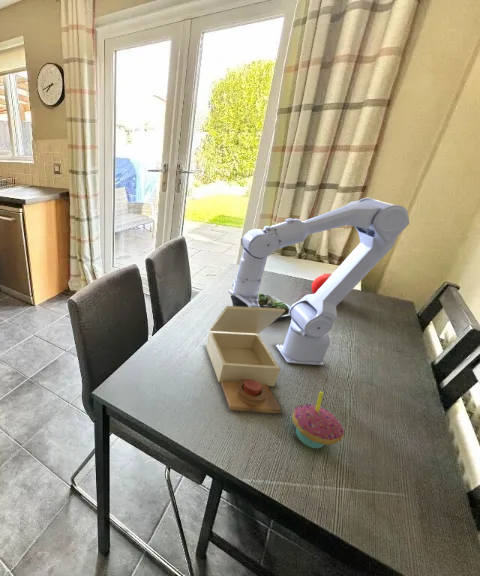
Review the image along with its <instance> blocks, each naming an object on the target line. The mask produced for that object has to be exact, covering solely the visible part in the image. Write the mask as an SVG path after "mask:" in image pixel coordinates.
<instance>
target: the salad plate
mask: <svg viewBox="0 0 480 576" xmlns="http://www.w3.org/2000/svg"><path fill="white" fill-rule="evenodd" d="M258 304H259V308H279V309H285V312H284V313H283V314H282V315H281V316H279V317H278V318H277V319H276V320H275V321H274V322H276V321H284V320H288V319H290V318H292V317H291V316H290V315H289V310H290V307H291V306H292V305H291V306H290V305H288V304H287V303H285V302H284V301H282V300H280V299H279V298H278V297H276V296H273V295H271V294H268V293H267V294H266V293H258Z"/></svg>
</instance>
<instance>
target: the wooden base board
mask: <svg viewBox="0 0 480 576" xmlns="http://www.w3.org/2000/svg"><path fill="white" fill-rule="evenodd" d="M246 380H248V379H242V380H240V381H238V382H226V381H222V382H220V386H221V389H222V392H223V395H224V397H225V400H226V403H227V405H228V408H229V410H230V411H241V412H255V413H268V414H281V412H282V408H281V407H280V405H279V403H278V402H277V399H276V398H275V395H274V394H273V392H272V390H271V389H270V386H268V385H267V384H260V385H261V391H260V394H259V395H257V396H252V395H249V394H247V393H246V392H245V391H244V390H243V386H244V382H245V381H246Z"/></svg>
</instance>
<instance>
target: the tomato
mask: <svg viewBox="0 0 480 576" xmlns="http://www.w3.org/2000/svg"><path fill="white" fill-rule="evenodd" d="M332 274H333V273H323V274H321V275H319V276H317V277H316V278H315V279H314V280H313V281H312V283H311V293H312V294H315V293H316V292H317V291H318V290H319V288H320V287H321V286H322V285H323V284H324V283H325V282H326V281H327V280H328V278H329V277H330V276H331V275H332Z"/></svg>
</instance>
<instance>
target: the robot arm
mask: <svg viewBox="0 0 480 576" xmlns="http://www.w3.org/2000/svg"><path fill="white" fill-rule="evenodd" d="M409 217H410V216H409V212H408V209H407V208H406V207H404V205H403V206H402V205H400V204H392V203H389V202H384V201H381V200H378V199H375V198H372V197H364V198H361V199H359V200H353V201H350V202H348V203H347V204H346V205H344V206H340V207H338V208H335V209H333V210H330V211H327V212H325V213H322V214H320V215H316V216H314V217H311V218H308V219H305V220H301V219H300V218H292V217H288V218H286V219H285V220H284V222H281V223H277V224H274V225H271V226H269V225H265V226H264V227H263V229H259V228H252V229H250V230H248V231H247V232H246V233H245V234H244V235H243V237H242V238H240V243H241V246H242V248H243V249H242V253H241V257H240V260H239V265H238V270H237V274H236V279H233V281H232V286H231V287H232V288H233V289H228V293H229V295H230V300H231V302H232V306H237V307H258V308H259V304H258V294H259V290H260V287H261V282H262V278H263V276H264V271H265V267H266V264H267V260H268V257H270V256H271V255H272V254H273V253H274V252H275V251H276V250H280V249H282V248H286V247H289V246H292V245H296V244H299V243H302V242H304V241H305V240H306V239H307V237H308V236H310V235H313V234H317V233H321V232H325V231H329V230H333V229H336V228H340V227H345V226H351V227H354V228H355V230H356V231H357V234H358V237H359V244H358V245H357V246H356V247H355V248H354V249H353V250H352V252H351V253H350V254H349V255H348V256H347V257H346V258H345V259H344V261H342V263H341V264H340V265H339V266H338V268H336V270H334V271H333V273H331V274H332V275H331V276H330V277H329V278H328V280H327V281H326V282H325V283H324V284H323V285H322V286H321V287H320V288H319V290H318V291H317V292H316V293H315V294H313V293H312V294H305V295H304V296H302V298H301V299H300V300H298V301H296V302H295V303H292V305H291V307H290V310H289V315H290V316H291V317H290V318H291V320H290V323H289V327H288V330H287V332H286V336H285V339H284V341H283V344H275V347H276V348H277V350H278V351H279V353H280V354H281V356H282V357H283V358H284V360H285V361H286V363H288V364H296V365H297V364H298V365H316V366H324V362H323V360H324V358H325V356H326V354H327V352H328V349H329V347H330V335H329V332H330V331H331V329H332V326H333V324H334V322H335V321H337V320H338V314H337V313H338V312H337V306H339V304H340V303H341V302H342V301H343V300H344V299H345V298H346V297H347V296H348V295H349V294H350V293H351V292H352V291H353V290H354V289H355V288H356V286H357V285H358V284H359V283H361V281H363V279H364V278H365V277H366V276H367V275H368V274H369V273H370V272H371V271H372V270H373V269H374V268H375V267H376V265H378V263H379V262H380V261H381V260H382V259H383V258H385V256H386V255H387V254H388V253H389V252H390V251H391V250H392V249H393V247H394V246H395V243H396V242H397V239H398V237H399V235H401V234H402V232H403V231H404V230H405V229H407V227H408V226H409V225H410V218H409Z"/></svg>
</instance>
